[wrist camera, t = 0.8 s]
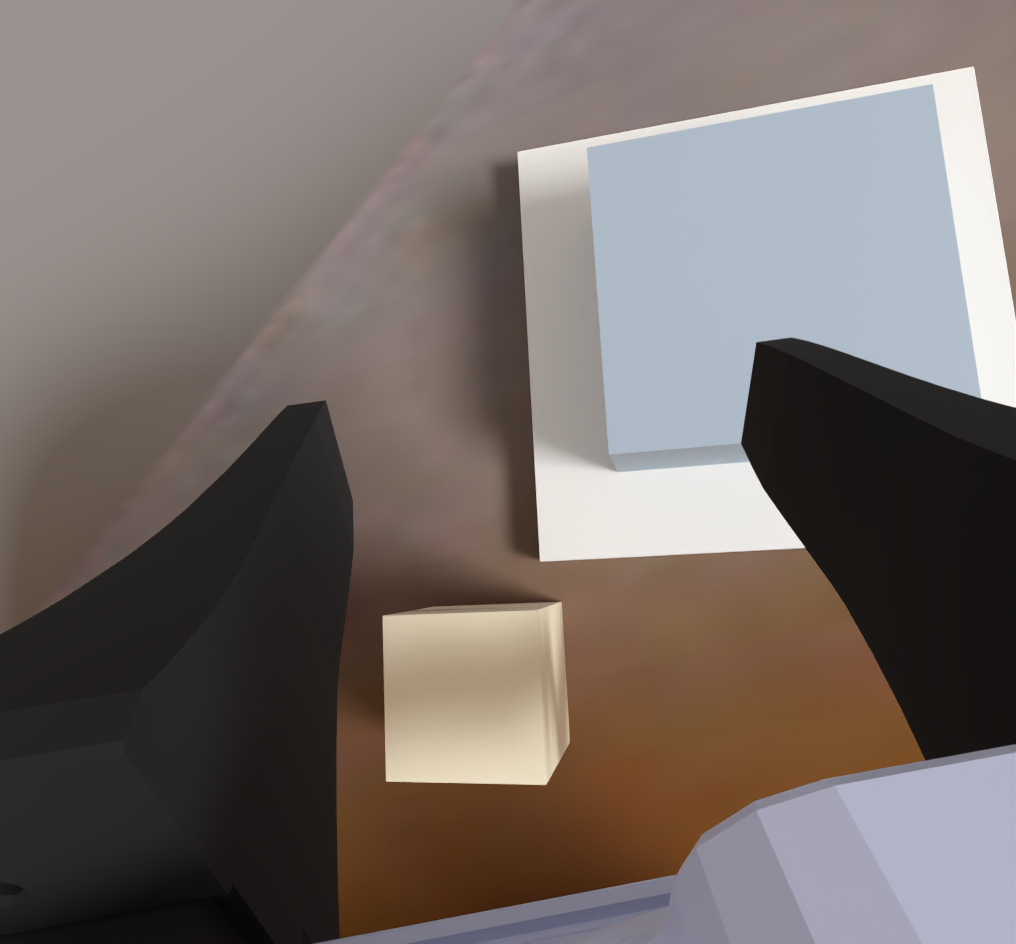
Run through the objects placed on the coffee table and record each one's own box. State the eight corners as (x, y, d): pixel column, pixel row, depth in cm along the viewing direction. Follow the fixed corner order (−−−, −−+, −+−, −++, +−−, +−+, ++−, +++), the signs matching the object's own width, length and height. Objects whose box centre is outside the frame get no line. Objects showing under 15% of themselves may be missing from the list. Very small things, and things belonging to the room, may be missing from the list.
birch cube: (570, 741, 25) (546, 784, 20) (439, 741, 26) (386, 781, 21) (561, 601, 25) (536, 610, 21) (434, 606, 26) (382, 615, 22)
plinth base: (1031, 536, 22) (1137, 527, 17) (545, 561, 26) (515, 560, 21) (959, 90, 24) (1034, -33, 19) (523, 169, 28) (492, 82, 23)
